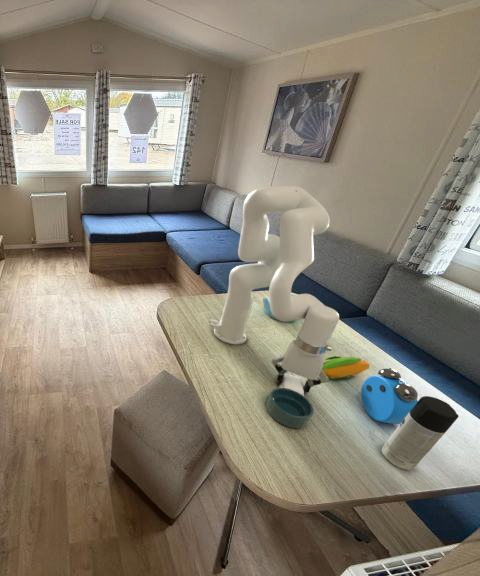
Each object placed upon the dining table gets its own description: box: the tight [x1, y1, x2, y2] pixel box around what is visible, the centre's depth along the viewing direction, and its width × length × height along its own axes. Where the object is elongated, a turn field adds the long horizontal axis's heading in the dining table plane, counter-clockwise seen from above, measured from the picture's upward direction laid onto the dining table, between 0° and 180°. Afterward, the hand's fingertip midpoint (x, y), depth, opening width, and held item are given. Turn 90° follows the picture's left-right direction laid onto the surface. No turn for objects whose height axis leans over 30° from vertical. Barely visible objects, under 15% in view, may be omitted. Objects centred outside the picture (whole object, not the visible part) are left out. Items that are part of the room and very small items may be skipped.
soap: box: [278, 373, 305, 397], centre depth 101 cm, size 9×7×3 cm
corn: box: [322, 356, 370, 380], centre depth 107 cm, size 7×8×20 cm
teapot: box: [262, 293, 299, 323], centre depth 140 cm, size 15×17×11 cm
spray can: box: [381, 395, 459, 471], centre depth 77 cm, size 7×7×20 cm
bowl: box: [265, 387, 315, 429], centre depth 92 cm, size 11×11×5 cm
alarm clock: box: [360, 367, 419, 426], centre depth 90 cm, size 13×6×15 cm, turn 171°
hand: (291, 386), depth 102 cm, fingers closed on soap, 6 cm apart
